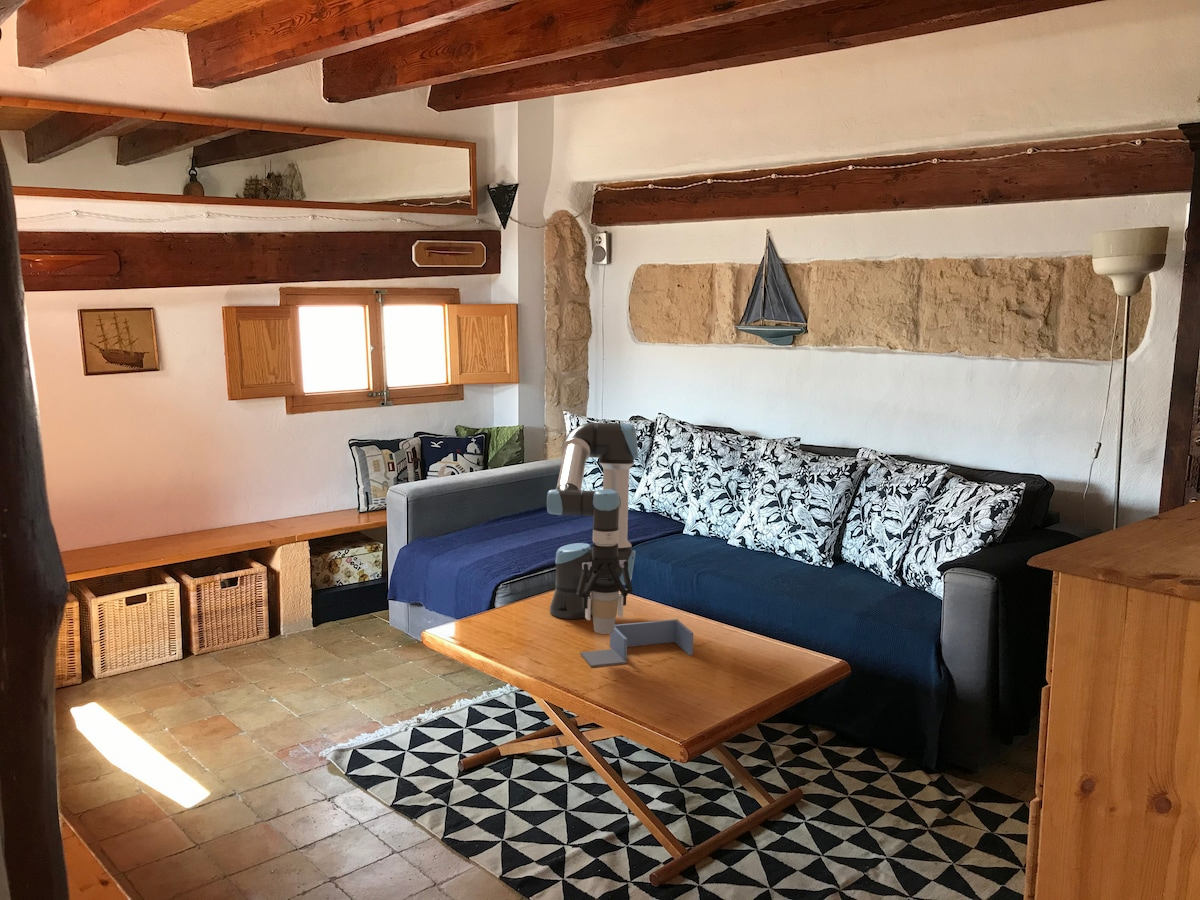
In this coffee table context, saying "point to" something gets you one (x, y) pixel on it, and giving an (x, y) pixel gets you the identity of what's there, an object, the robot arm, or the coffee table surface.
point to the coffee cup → (604, 604)
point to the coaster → (602, 658)
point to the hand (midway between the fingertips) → (604, 617)
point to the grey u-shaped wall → (650, 635)
